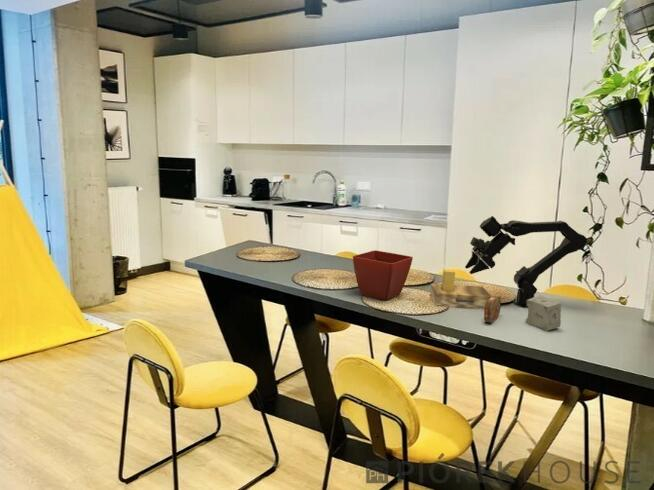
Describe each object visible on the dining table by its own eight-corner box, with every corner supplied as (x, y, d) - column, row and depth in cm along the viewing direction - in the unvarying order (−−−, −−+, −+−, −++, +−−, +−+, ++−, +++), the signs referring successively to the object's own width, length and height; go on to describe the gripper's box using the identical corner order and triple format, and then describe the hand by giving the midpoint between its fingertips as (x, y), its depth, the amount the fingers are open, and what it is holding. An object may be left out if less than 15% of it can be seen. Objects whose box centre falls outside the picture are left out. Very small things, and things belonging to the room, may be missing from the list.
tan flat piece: (481, 297, 224) (482, 286, 224) (492, 309, 208) (493, 297, 207) (430, 294, 225) (431, 283, 224) (437, 306, 209) (438, 294, 208)
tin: (489, 325, 190) (492, 303, 188) (481, 323, 191) (483, 302, 190) (500, 315, 202) (502, 294, 201) (492, 313, 204) (494, 292, 202)
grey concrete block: (523, 323, 194) (526, 296, 192) (539, 321, 198) (542, 294, 196) (544, 332, 185) (547, 304, 183) (560, 329, 189) (564, 302, 187)
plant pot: (372, 285, 235) (374, 249, 232) (410, 294, 224) (413, 256, 221) (349, 294, 220) (351, 256, 216) (389, 304, 209) (392, 263, 206)
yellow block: (450, 297, 219) (453, 269, 217) (452, 300, 215) (455, 272, 213) (440, 296, 219) (443, 269, 217) (442, 299, 215) (445, 271, 213)
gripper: (478, 227, 221) (450, 252, 224) (488, 234, 203) (458, 262, 206) (495, 245, 222) (468, 270, 225) (507, 254, 204) (477, 281, 207)
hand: (467, 270), depth 216 cm, fingers open, 9 cm apart
